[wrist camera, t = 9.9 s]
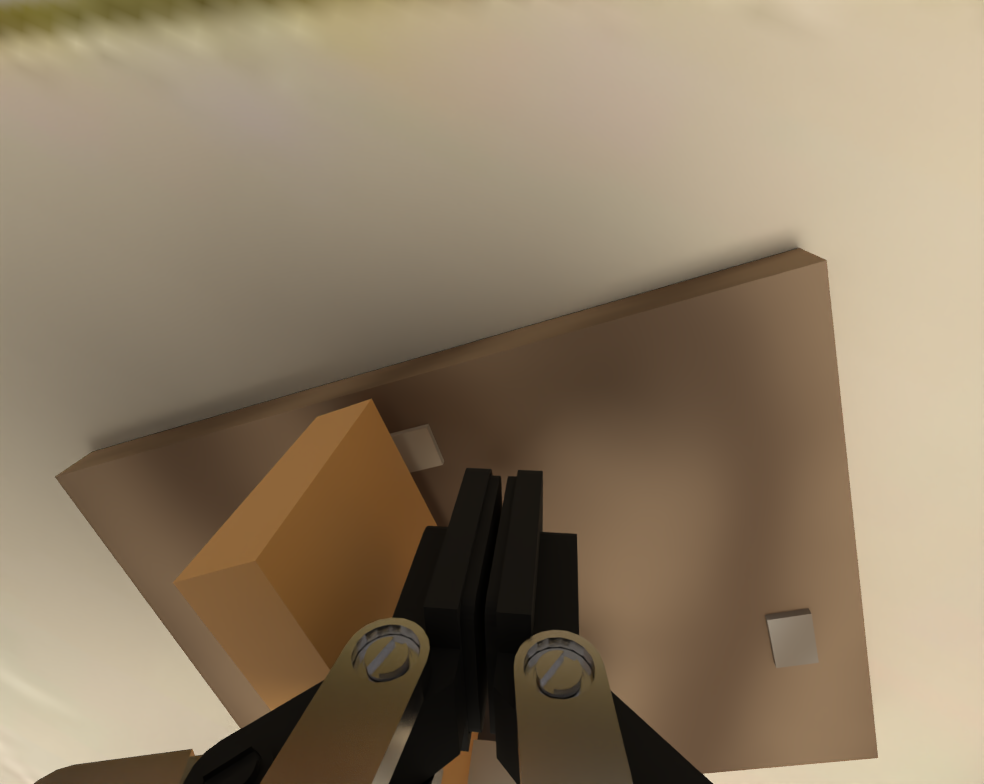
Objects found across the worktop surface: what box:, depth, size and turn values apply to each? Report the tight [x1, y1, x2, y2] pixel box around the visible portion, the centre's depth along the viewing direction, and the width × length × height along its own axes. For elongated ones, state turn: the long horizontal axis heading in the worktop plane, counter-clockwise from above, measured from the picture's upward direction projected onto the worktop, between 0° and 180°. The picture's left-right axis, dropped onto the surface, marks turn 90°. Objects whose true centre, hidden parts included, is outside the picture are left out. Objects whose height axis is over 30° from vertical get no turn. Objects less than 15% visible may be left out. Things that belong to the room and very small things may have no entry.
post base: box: [55, 248, 878, 774], centre depth 16 cm, size 22×17×6 cm
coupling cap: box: [173, 399, 516, 784], centre depth 14 cm, size 14×8×6 cm, turn 22°
